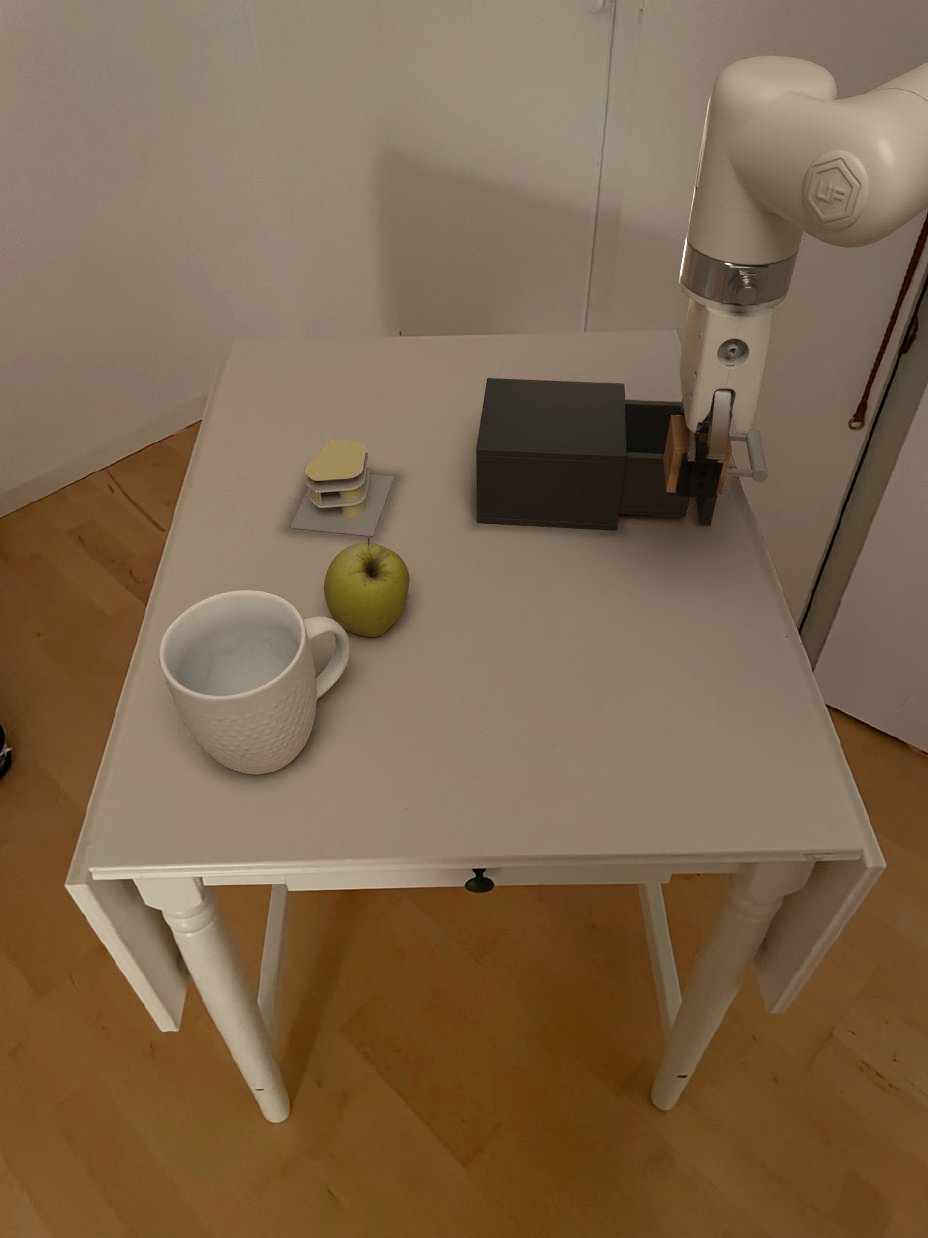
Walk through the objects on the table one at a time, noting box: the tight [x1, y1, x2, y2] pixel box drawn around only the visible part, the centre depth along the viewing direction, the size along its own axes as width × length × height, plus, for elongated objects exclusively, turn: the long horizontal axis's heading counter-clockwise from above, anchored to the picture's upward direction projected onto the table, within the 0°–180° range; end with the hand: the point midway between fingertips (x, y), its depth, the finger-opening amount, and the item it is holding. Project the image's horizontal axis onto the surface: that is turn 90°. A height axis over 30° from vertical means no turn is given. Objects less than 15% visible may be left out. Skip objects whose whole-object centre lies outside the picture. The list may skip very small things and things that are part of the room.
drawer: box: [619, 399, 769, 526], centre depth 95 cm, size 18×11×8 cm, turn 84°
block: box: [663, 415, 733, 495], centre depth 75 cm, size 4×4×4 cm
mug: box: [158, 589, 351, 775], centre depth 74 cm, size 15×11×13 cm
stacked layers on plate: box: [290, 439, 395, 537], centre depth 97 cm, size 10×9×6 cm
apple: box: [323, 537, 411, 638], centre depth 84 cm, size 8×8×10 cm
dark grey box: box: [475, 377, 627, 531], centre depth 96 cm, size 15×13×10 cm
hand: (692, 472), depth 77 cm, fingers closed on block, 4 cm apart
